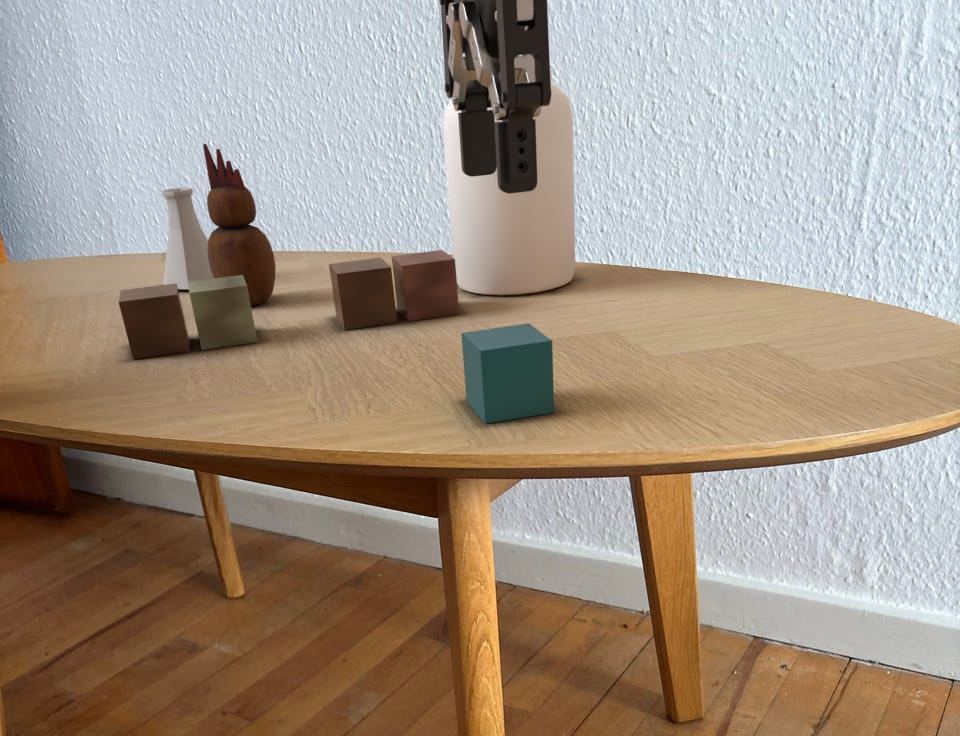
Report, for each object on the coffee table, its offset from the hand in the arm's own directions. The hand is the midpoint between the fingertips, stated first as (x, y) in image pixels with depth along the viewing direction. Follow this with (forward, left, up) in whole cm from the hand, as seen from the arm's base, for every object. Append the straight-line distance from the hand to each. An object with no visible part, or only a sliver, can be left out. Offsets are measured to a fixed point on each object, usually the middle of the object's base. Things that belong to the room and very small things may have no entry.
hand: (497, 183), depth 62 cm
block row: (-11, +31, -15) cm, 36 cm away
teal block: (0, +1, -15) cm, 15 cm away
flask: (-20, +58, -15) cm, 63 cm away
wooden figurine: (-15, +45, -15) cm, 50 cm away
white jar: (+12, +38, -15) cm, 43 cm away
